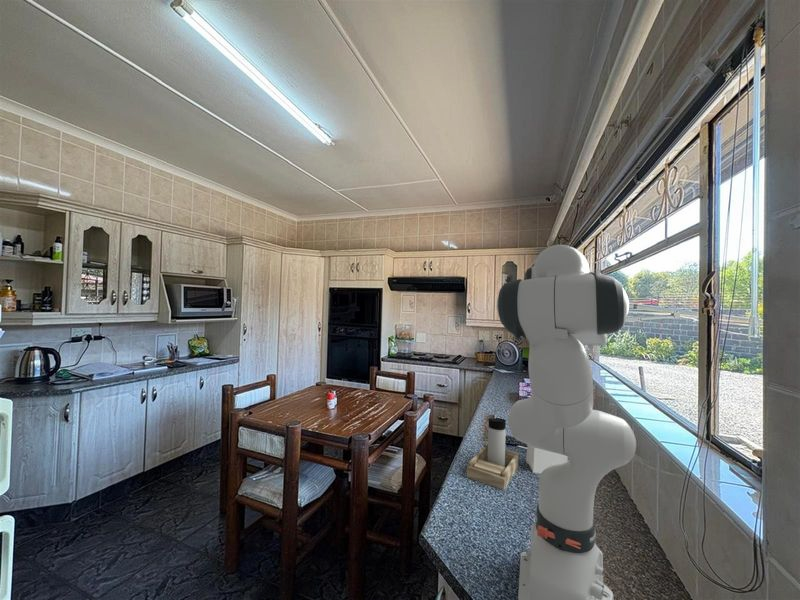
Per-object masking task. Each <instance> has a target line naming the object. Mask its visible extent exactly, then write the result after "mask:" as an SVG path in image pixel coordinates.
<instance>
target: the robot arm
mask: <svg viewBox="0 0 800 600" xmlns="http://www.w3.org/2000/svg"><path fill="white" fill-rule="evenodd" d="M496 310H497V314H498V317H499V321H500V323H501V324H502V325H503V327H504V328H505V330H507V331H508V332H509V333H511V335H514V337H515V339H516V340H517V342H519V343H522V342H524V339H525V340H527V341H528V344H529V353H528V364H527V365H528V378H529V383H530V388H531V389H530V390H531V394H532V395H531V396H529V397H526V398H525V399H519V400H517V401H516V402H514V403H513V405H512V406H511V407H510V409H509V412H508V415H507V424H508V429H509V431H510V433H511V435H512V437H513V438H514V439H515V440H517V441H519V442H521V443H522V444H526V446H527V445H529V446H532V447H534V448H538V449H542V450H546V451H550V452H554V453H558V454H562V455H565V456H567V457H568V461H567V462H565V463H562V464H557V465H552V466H550V467H548V468H546V469H545V470H543V471H542V473H540V476H539V478H538V504H537V506H536V511H535V523H533V524H531V525H530V549H529V548H527V549H526V551H522V552H521V553H520V560H519V573H518V574H519V577H518V592H517V593H518V594H517V595H518V596H517V600H615V599H614V593H613V591H612V590H611V589H610V588H609V587H608V586H607V585H606V584H605V583H604V573H605V572H604V571H605V569H604V561H603V560H604V553H603V552H602V550H601V549H600V548H599V547H598V545H597V544H596V536H597V533H596V532H597V531H596V523H595V521H594V504H595V497H596V496H595V495H596V490H597V487H598V485H599V483H600V482H601V481H602V479H603V478H604V477H605V476H607V474H609V473H611V472H612V471H614V470H615V469H617V468H620V467H624V466H625V465H627V464H629V462H631V460H632V459H633V458H634V456H635V454H636V451H637V450H636V449H637V440H636V436H635V433H634V431H633V429H632V427H631V426H630V425H629V424H628V422H627V421H626V420H625V419H624V418H621V417H619V416H616V415H614V414H612V413H611V414H610V413H607V412H604V411H602V410H597V409H594V380H593V378H594V377H593V370H592V366H591V362H590V353H591V352H592V351H593V349H594V346H600V347H604V346H606V345H607V344H608V338H607V337H608V336H607V334H613V333H617V332H619V331H620V330H621V329H622V328H623V326H624V322H625V321H626V320H627V317H628V314H629V310H630V300H629V297H628V295H627V292H626V290H625V289H624V286H623V284H622V282H620V281H619V280H617V279H616V278H615V277H613V276H610V275H607V274H604V273H601V271H600V269H598V268H596V269H595V272H591V270H590V265H589V262H588V259H587V258H586V256H585V255H584V254H583V253H582V252H581V251H580V250H578V249H577V248H575V247H573V246H571V245H567V244H554V245H551V246H549V247H546V248H545V249H543V250H542V251H541V252H540V253H539V254H538V255H537V257H536V258H535V261H534V265H533V266H531V267H529V268H526V271H525V272H524V276H523V279H521V278H519V279H515V280H511V281H508V282H505V283H503V285H502V286H501V288H500V289H499V292H498V295H497V300H496ZM584 345H587V349H588V350H586V348H585V347H584Z"/></svg>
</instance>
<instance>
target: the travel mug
mask: <svg viewBox="0 0 800 600" xmlns="http://www.w3.org/2000/svg"><path fill="white" fill-rule="evenodd" d="M506 424H507V423H506V419H504V418H501V417H495V418H494V417H490V418H488V426H487V427H488V430H487V444H488V460H487V462H490V463H493V464H496V465H500V466H503V467H506V465H505V449H506V435H507V434H506Z"/></svg>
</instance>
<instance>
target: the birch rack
mask: <svg viewBox="0 0 800 600" xmlns="http://www.w3.org/2000/svg"><path fill="white" fill-rule="evenodd" d="M478 461H483V462H486V463H490V462H488V443H484V444H483V446H482V447H481V449H480V450H479V451H478V452H477V453H476V454H475V455H474V456H473V457H471V459H470V460H469V461H468V463H467V464H468V465H467V466H466V478H468V479H472V480H475V481H476V482H479V483H482V484H486V485H488V486H491V487H494V488H497V489H500V490H503V491H505V490H506V488H507V487H508V485H509V483H510V482H511V480H512V478H513V477H514V475H515V473H516V472H517V471H518V469H519V452H518V451H517V452H516V451H514V450H510V449H506V448H505V467H503V466H500V465H496V464H493V463H490V464H493V465H496V466H500V467H503V468H504V472H503V473H502V476H499V475H496V474H493V473H490V472H487V471H483V470H480V469H477V468H474V465H475V464H476V463H477V462H478Z"/></svg>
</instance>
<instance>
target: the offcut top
mask: <svg viewBox="0 0 800 600" xmlns="http://www.w3.org/2000/svg"><path fill="white" fill-rule="evenodd" d="M474 468H477V469H480V470H483V471H487V472H490V473H493V474H496V475H499V476H502V473H503V472H504V468H503V467H500V466H496V465H493V464H490V463H486V462H483V461H478V462H477V463H476V464H475V465H474Z"/></svg>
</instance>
